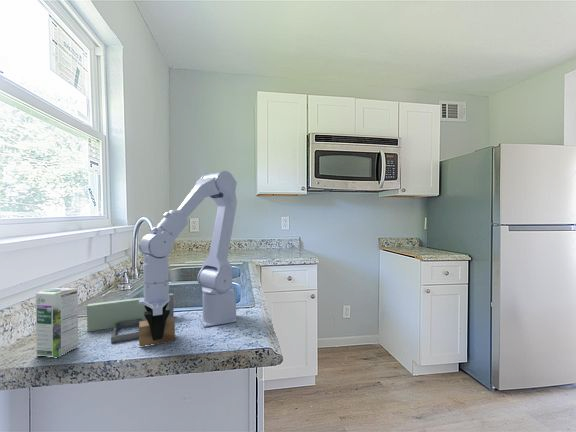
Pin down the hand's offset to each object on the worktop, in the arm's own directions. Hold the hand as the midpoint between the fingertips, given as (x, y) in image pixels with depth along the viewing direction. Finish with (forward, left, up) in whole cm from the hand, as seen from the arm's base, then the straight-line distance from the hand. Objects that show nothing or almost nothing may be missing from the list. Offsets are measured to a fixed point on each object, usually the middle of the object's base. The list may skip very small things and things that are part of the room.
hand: (157, 335), depth 74 cm
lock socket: (+7, -9, -1) cm, 11 cm away
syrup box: (+21, -4, -2) cm, 21 cm away
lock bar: (0, 0, -2) cm, 2 cm away
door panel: (+6, -16, -1) cm, 17 cm away
